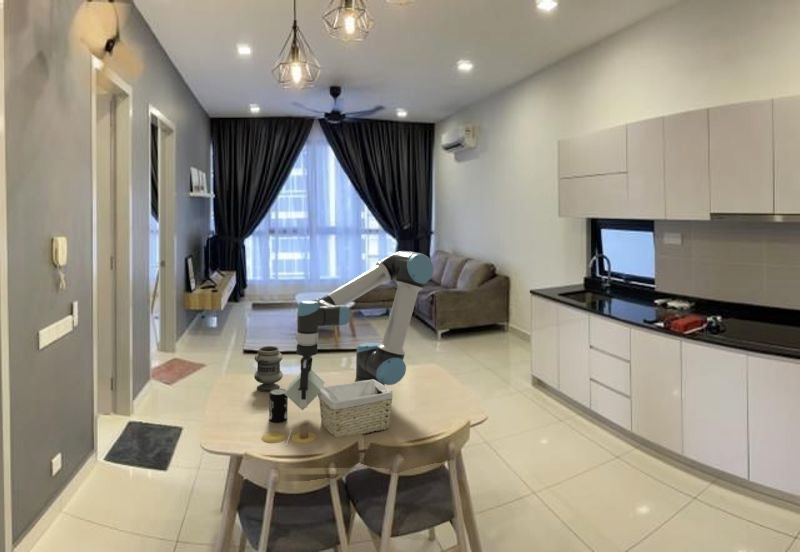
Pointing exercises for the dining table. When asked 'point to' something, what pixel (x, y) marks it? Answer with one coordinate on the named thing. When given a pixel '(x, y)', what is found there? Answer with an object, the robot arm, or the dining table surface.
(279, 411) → the beverage can
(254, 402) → the dining table surface
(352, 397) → the storage basket
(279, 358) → the apothecary jar
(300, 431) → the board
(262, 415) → the dining table surface
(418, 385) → the dining table surface
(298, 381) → the cover
